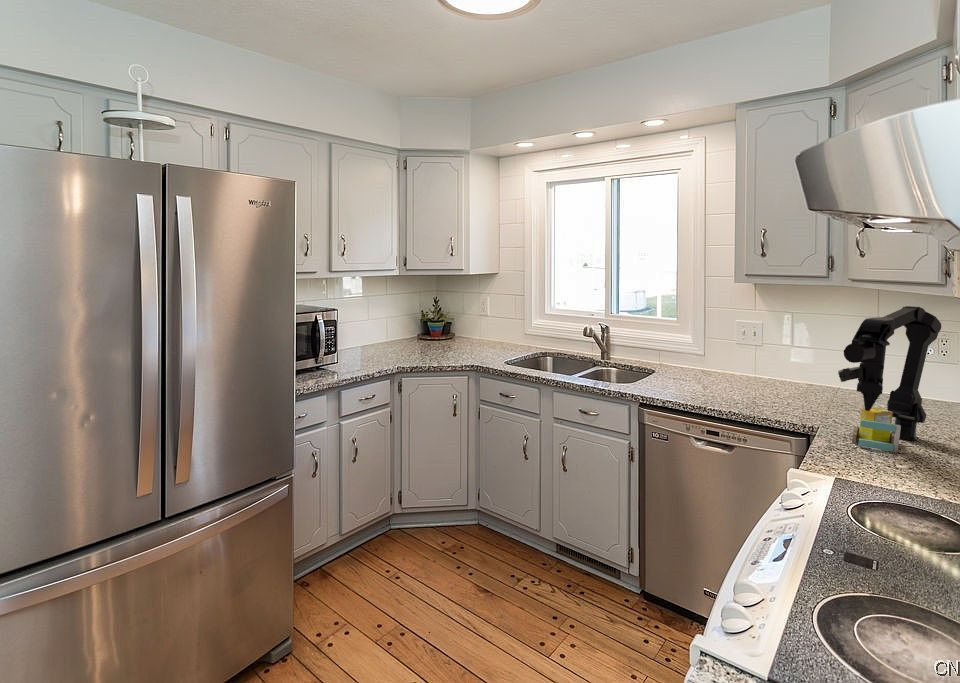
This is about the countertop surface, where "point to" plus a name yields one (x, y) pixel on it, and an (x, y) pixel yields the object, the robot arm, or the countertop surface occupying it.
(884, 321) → the robot arm
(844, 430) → the countertop surface
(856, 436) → the dock
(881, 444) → the clip gate
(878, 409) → the supplement box
